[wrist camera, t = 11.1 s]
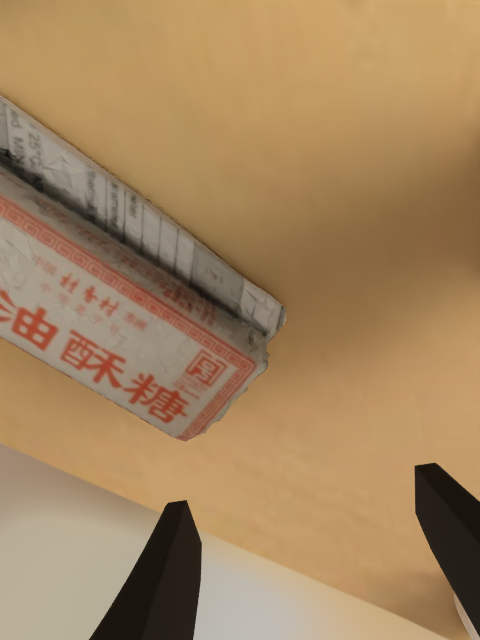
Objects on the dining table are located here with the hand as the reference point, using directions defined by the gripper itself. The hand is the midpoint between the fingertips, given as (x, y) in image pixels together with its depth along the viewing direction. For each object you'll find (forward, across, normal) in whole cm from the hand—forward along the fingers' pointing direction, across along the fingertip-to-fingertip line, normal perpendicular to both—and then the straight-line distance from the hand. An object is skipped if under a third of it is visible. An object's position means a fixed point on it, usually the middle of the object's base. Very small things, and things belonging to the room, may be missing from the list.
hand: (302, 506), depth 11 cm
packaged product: (+11, +8, -6) cm, 15 cm away
